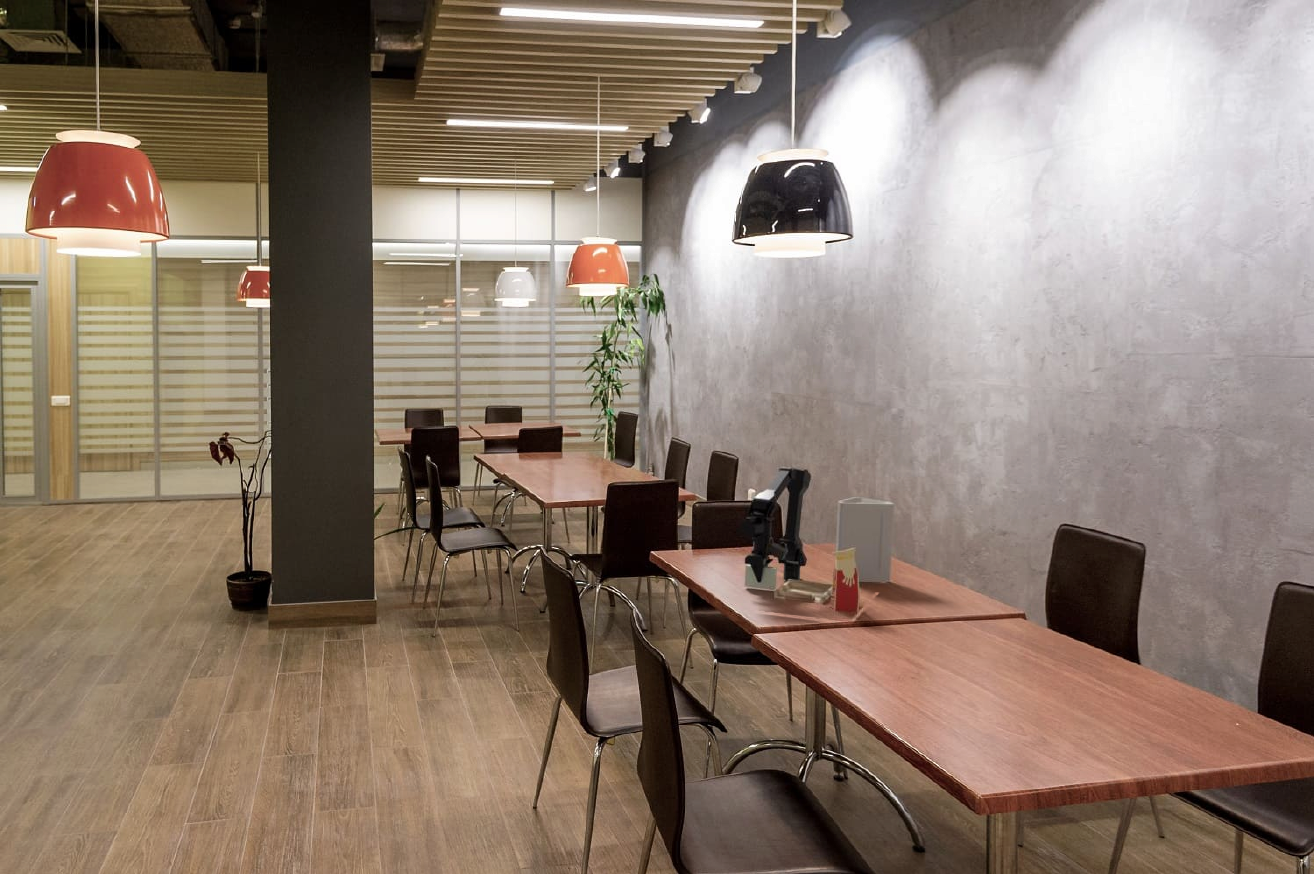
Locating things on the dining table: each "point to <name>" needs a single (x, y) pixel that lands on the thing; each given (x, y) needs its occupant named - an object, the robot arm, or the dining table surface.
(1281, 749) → the dining table surface
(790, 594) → the offcut
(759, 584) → the sheet
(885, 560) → the grey tall prism
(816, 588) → the rack
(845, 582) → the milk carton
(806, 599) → the offcut
